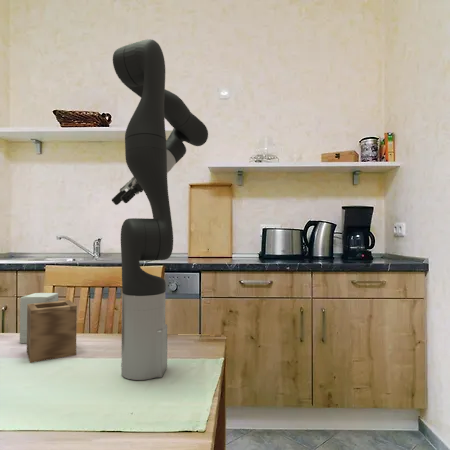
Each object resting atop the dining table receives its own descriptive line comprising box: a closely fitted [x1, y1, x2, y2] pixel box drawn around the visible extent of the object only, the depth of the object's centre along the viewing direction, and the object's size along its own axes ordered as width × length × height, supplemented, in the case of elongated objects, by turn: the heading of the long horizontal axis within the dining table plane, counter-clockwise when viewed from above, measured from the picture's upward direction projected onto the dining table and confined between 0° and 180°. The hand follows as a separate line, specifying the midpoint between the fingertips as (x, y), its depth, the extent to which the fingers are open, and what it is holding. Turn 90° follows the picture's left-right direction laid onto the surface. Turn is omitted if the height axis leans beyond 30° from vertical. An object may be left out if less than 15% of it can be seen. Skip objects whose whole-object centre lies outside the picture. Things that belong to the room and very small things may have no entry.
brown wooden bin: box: [26, 299, 78, 364], centre depth 91 cm, size 10×9×12 cm
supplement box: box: [19, 292, 59, 344], centre depth 102 cm, size 7×7×13 cm
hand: (118, 201), depth 102 cm, fingers open, 8 cm apart
